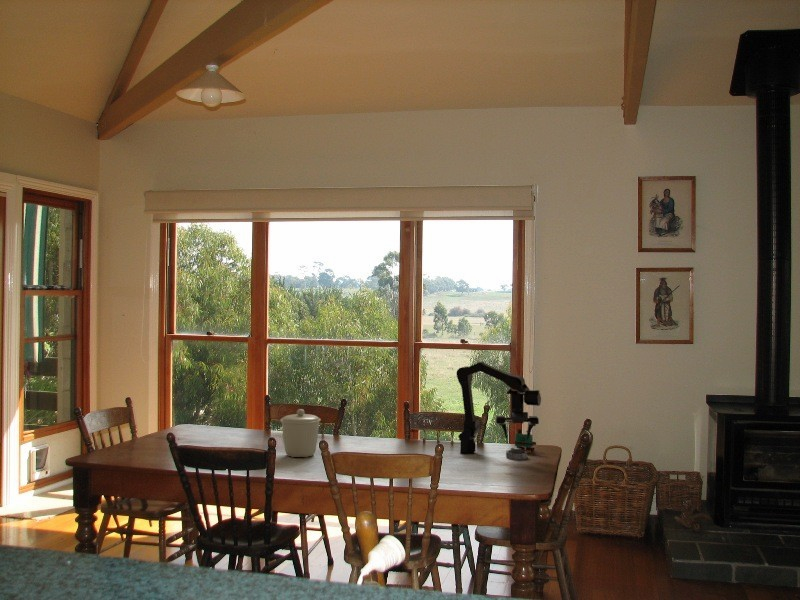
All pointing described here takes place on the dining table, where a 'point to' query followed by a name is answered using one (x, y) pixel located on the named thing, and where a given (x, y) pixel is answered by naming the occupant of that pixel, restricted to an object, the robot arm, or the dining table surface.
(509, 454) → the barrel ring
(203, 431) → the dining table surface
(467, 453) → the robot arm
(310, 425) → the canister
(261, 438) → the dining table surface
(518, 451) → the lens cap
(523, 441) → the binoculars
